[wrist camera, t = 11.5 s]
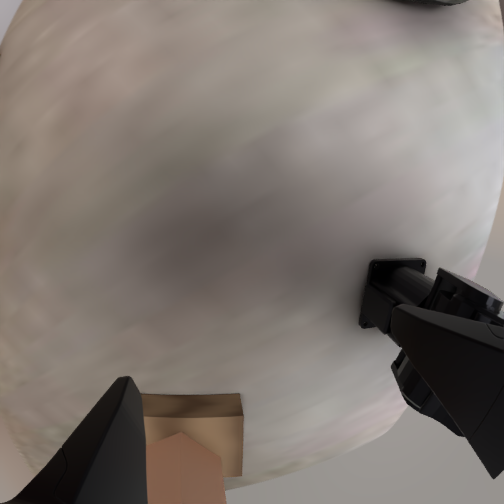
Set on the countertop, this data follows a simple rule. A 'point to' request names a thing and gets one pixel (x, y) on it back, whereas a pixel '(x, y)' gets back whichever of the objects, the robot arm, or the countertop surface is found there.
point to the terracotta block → (183, 472)
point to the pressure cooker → (442, 2)
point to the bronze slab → (199, 424)
